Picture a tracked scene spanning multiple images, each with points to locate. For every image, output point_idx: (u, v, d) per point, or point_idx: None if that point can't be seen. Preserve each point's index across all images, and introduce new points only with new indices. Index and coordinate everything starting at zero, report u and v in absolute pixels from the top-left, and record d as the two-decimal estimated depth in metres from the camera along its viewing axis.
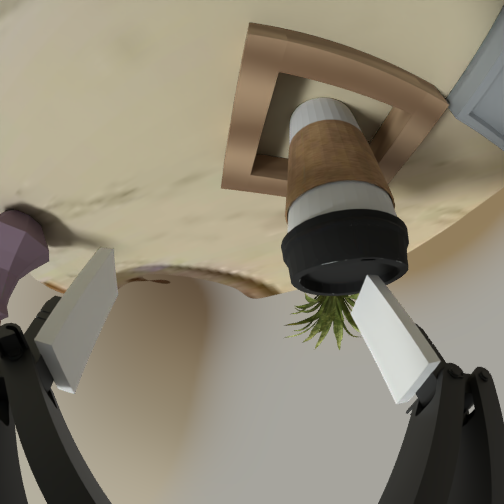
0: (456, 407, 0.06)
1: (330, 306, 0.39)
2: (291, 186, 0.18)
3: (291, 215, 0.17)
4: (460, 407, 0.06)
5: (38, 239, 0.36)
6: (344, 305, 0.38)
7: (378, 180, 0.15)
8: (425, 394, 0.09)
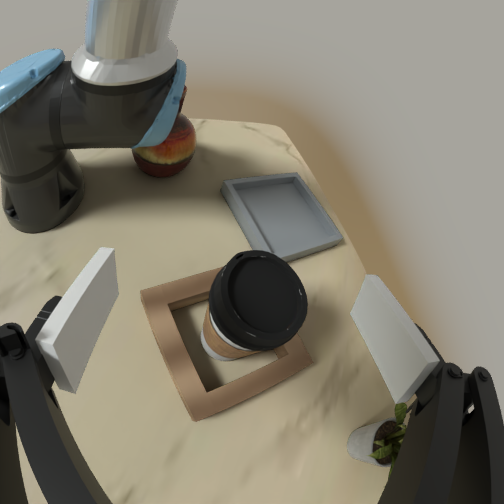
0: (455, 407, 0.06)
1: None
2: (207, 323, 0.25)
3: (213, 321, 0.24)
4: (459, 407, 0.06)
5: None
6: None
7: None
8: (424, 394, 0.09)
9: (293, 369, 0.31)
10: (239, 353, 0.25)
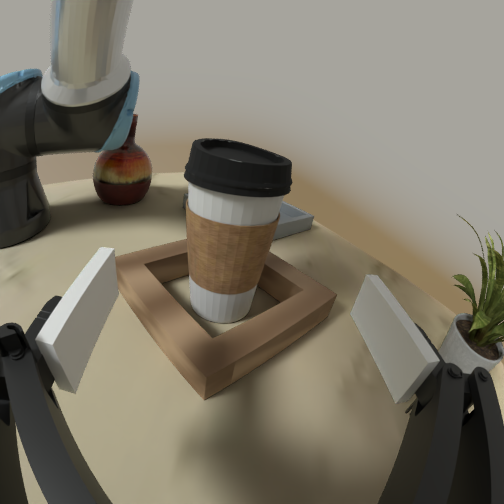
0: (455, 407, 0.06)
1: (492, 302, 0.16)
2: (189, 225, 0.21)
3: (194, 202, 0.20)
4: (459, 407, 0.06)
5: None
6: None
7: None
8: (424, 394, 0.09)
9: (317, 302, 0.25)
10: (236, 243, 0.20)
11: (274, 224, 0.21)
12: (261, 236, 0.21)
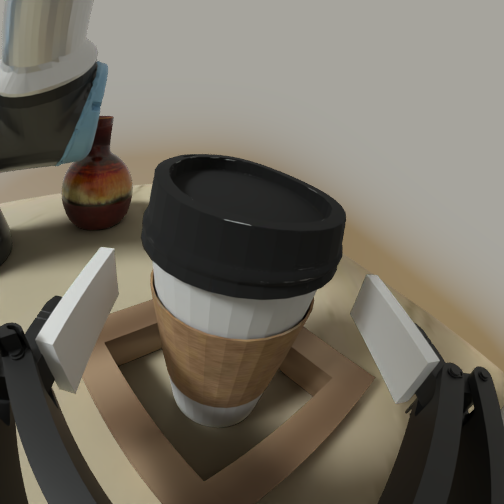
0: (455, 407, 0.06)
1: None
2: (157, 317, 0.12)
3: (160, 286, 0.10)
4: (459, 407, 0.06)
5: None
6: None
7: None
8: (424, 394, 0.09)
9: (351, 397, 0.16)
10: (238, 361, 0.11)
11: (305, 320, 0.12)
12: (283, 345, 0.11)
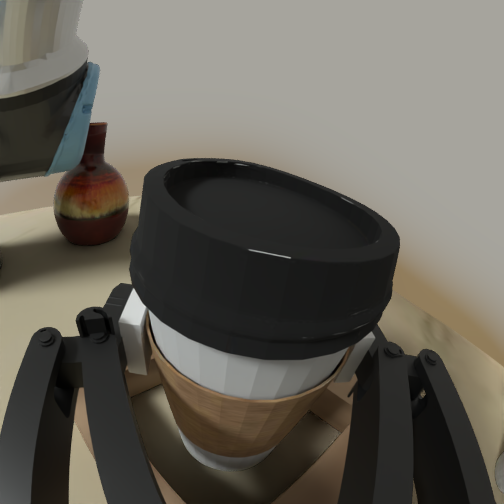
0: (400, 389, 0.07)
1: None
2: (157, 366, 0.09)
3: (157, 333, 0.08)
4: (405, 388, 0.07)
5: None
6: None
7: None
8: (363, 377, 0.10)
9: None
10: (262, 421, 0.08)
11: None
12: (316, 396, 0.08)
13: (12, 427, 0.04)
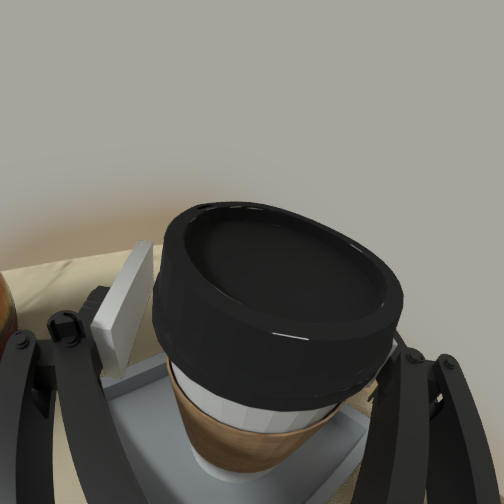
0: (420, 394, 0.07)
1: None
2: (177, 400, 0.09)
3: (180, 377, 0.08)
4: (424, 393, 0.07)
5: None
6: None
7: None
8: (384, 381, 0.09)
9: None
10: (273, 448, 0.08)
11: None
12: (321, 426, 0.09)
13: None
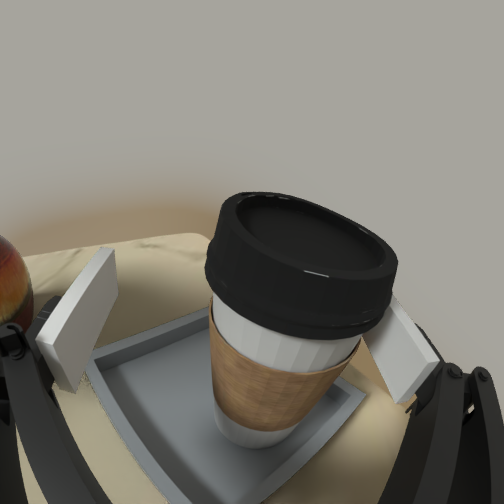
0: (455, 407, 0.06)
1: None
2: (215, 351, 0.12)
3: (224, 324, 0.11)
4: (459, 407, 0.06)
5: None
6: None
7: None
8: (424, 394, 0.09)
9: None
10: (295, 391, 0.11)
11: None
12: (335, 375, 0.11)
13: None
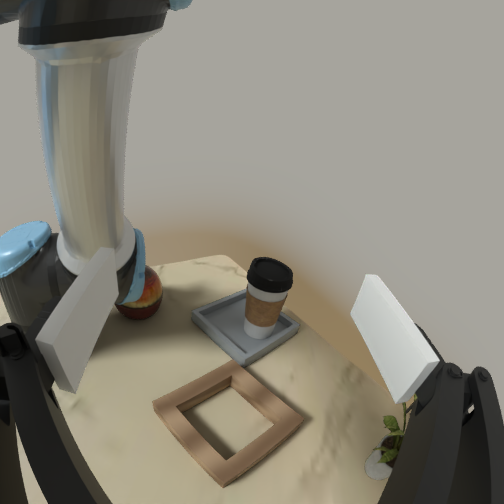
0: (455, 407, 0.06)
1: None
2: (248, 299, 0.51)
3: (251, 291, 0.50)
4: (459, 407, 0.06)
5: None
6: (404, 428, 0.27)
7: None
8: (424, 394, 0.09)
9: (289, 427, 0.34)
10: (268, 308, 0.49)
11: (284, 299, 0.50)
12: (278, 305, 0.50)
13: None
